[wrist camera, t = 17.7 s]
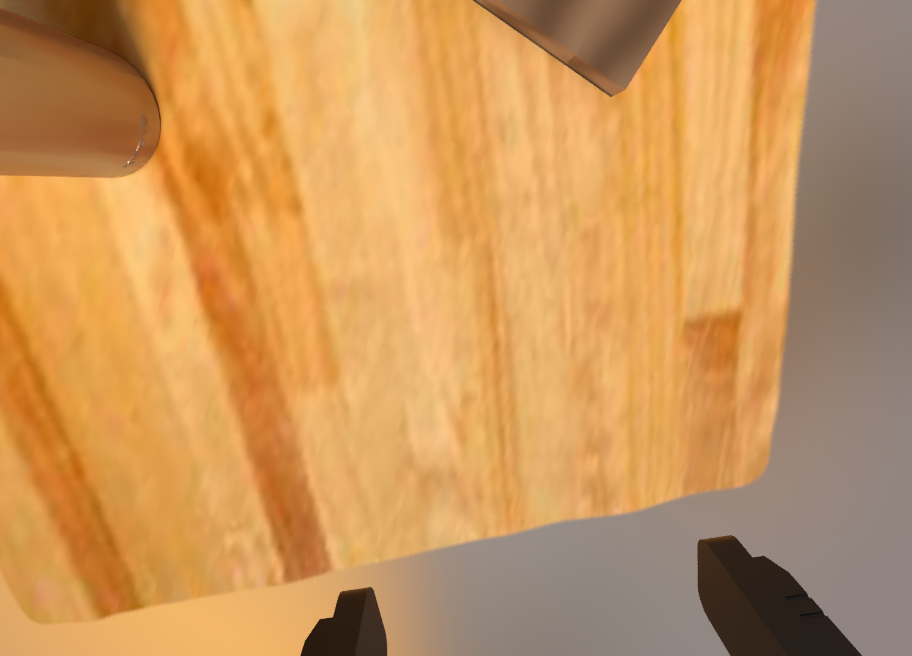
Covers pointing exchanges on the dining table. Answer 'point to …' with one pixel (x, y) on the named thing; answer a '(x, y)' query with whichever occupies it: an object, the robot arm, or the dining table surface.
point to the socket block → (590, 33)
